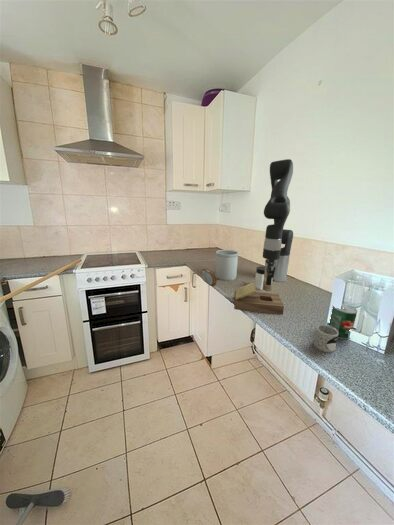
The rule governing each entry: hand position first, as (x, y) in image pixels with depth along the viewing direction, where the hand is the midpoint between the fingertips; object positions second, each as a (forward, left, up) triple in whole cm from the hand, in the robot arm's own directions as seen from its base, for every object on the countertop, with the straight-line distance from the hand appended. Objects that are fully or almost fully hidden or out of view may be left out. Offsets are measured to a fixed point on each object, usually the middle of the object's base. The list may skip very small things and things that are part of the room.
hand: (267, 283), depth 103 cm
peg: (0, 0, -3) cm, 3 cm away
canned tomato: (+18, +26, -12) cm, 34 cm away
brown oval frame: (-24, -31, -12) cm, 41 cm away
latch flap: (0, -10, -5) cm, 11 cm away
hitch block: (0, -4, -12) cm, 13 cm away
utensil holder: (-38, -21, -12) cm, 45 cm away
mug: (+27, +18, -12) cm, 35 cm away
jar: (-25, +1, -12) cm, 28 cm away
